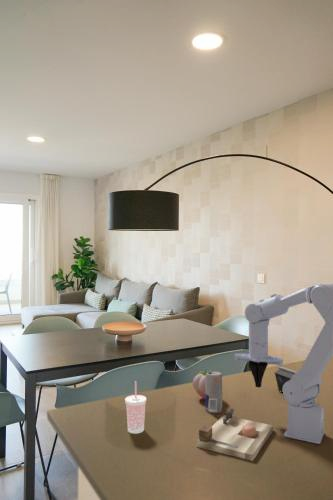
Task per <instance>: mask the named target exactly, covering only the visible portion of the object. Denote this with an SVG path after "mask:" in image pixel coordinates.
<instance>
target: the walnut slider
mask: <svg viewBox="0 0 333 500" xmlns="http://www.w3.org/2000/svg"><path fill="white" fill-rule="evenodd" d="M211 438H212V426H208V425H202V426H201V427H200V429H198V439H200V440H204V441H209V440H210V439H211Z"/></svg>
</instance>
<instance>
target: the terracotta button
mask: <svg viewBox="0 0 333 500" xmlns="http://www.w3.org/2000/svg"><path fill="white" fill-rule="evenodd" d="M241 436H245V437H249V438H253V439H256V437H257V436H256V427H255V426H252V425H244V426H242V435H241Z"/></svg>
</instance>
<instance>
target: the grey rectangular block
mask: <svg viewBox="0 0 333 500" xmlns="http://www.w3.org/2000/svg"><path fill="white" fill-rule="evenodd" d="M234 412H235V409H234V408H230V410H229V411H228V412H227V414H226V415H225V416H226V419H227V420H228V419H229V418H230V417H231V416H232V417H233V413H234Z"/></svg>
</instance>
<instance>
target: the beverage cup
mask: <svg viewBox="0 0 333 500" xmlns="http://www.w3.org/2000/svg"><path fill="white" fill-rule="evenodd" d="M137 390H138V389H137V380H135V381H134V394H131V395H128V396H126V397H125V398H124V402H125V406H126V407H125V408H126V422H127V432H128V433H129V434H140V433H143V432H144V431H145V420H146V419H145V417H146V403H147V397H146V396H145V395H141V394H137Z"/></svg>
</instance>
